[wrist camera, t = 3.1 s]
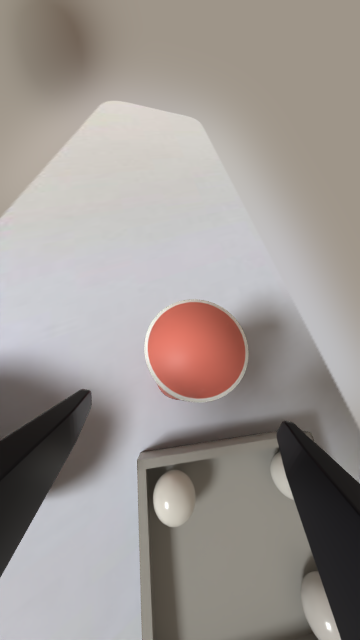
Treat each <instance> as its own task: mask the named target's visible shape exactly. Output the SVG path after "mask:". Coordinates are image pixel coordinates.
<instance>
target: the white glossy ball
mask: <svg viewBox="0 0 360 640" xmlns="http://www.w3.org/2000/svg"><path fill="white" fill-rule="evenodd" d="M270 473H271V477H272V480H273V482H274V484H275V486H276V487H277V488H278V490H279V491H280V492H281V493H282V494H283V495H285V496H286V497H288V498H289V499H292V500H294V498H293V495H292V492H291V489H290V486H289V483H288V480H287V477H286V474H285V470H284V466H283V462H282V458H281V454H280V452H278V453H277V454H275V455H274V457H273V458H272V460H271V463H270Z"/></svg>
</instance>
